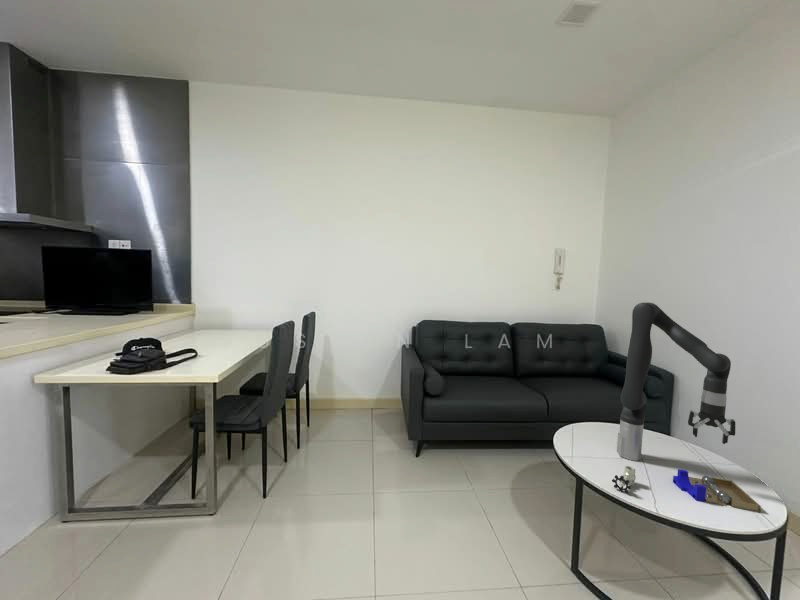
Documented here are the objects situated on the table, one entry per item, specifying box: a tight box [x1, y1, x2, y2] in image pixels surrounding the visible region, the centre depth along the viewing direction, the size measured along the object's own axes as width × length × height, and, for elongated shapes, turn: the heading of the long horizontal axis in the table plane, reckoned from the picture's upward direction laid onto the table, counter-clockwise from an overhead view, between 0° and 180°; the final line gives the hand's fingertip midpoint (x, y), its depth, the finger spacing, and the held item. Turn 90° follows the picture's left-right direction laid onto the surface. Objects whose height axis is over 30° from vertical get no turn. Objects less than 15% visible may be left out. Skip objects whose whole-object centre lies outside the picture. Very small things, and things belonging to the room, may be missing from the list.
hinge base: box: [689, 475, 762, 513], centre depth 134 cm, size 16×17×3 cm
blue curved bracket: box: [672, 468, 706, 503], centre depth 135 cm, size 12×4×6 cm, turn 169°
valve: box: [611, 465, 637, 494], centre depth 137 cm, size 7×7×12 cm
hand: (709, 439), depth 138 cm, fingers open, 8 cm apart
